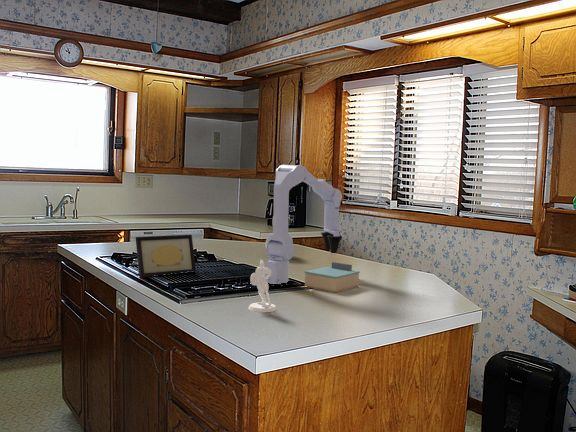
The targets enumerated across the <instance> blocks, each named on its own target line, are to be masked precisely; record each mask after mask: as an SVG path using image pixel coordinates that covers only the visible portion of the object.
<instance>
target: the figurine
mask: <svg viewBox="0 0 576 432" xmlns="http://www.w3.org/2000/svg"><path fill="white" fill-rule="evenodd" d="M265 263H266V262H264V259H260V260H259V266H257V267H256V269H255V272H253V273H251V275H250V277H249V279H250V284H251V285H252V286H256V288H257V290H258V291H257V294H258V295H259V296H260V298H261V302H259V301H258V302H253V303H250V304H249V306H248V308H247V309H248V310H249V311H252V312H257V313H258V312H259V313H271V312H276V311H277V310H278V307H277V306H276V305H275V304H273V303H272V301H271V298H270V294H269V288H270V286H269V284H268V282H267V281H266V279H269V277H270V276H271V270H269V268H266V267H264V265H265ZM265 273H267V274H268V276H266V277H265ZM265 294H266V295H265ZM266 299H267V301H266Z"/></svg>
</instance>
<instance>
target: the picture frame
mask: <svg viewBox="0 0 576 432" xmlns="http://www.w3.org/2000/svg"><path fill="white" fill-rule="evenodd" d="M134 238H135V245H136V255H137V257H136V258H137V264H138V265H137V266H138V267H137V268H138V277H139V279H143V278H151V277H150V276H154V275H162V274H171V273H179V272H187V271H196V272H197V268H196V260H195V251H194V244H193V243H194V242H193V235H192V234H178V235H177V234H175V235H152V236H151V235H149V236H136V237H134Z"/></svg>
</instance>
